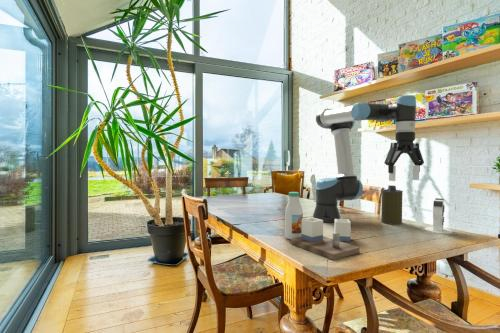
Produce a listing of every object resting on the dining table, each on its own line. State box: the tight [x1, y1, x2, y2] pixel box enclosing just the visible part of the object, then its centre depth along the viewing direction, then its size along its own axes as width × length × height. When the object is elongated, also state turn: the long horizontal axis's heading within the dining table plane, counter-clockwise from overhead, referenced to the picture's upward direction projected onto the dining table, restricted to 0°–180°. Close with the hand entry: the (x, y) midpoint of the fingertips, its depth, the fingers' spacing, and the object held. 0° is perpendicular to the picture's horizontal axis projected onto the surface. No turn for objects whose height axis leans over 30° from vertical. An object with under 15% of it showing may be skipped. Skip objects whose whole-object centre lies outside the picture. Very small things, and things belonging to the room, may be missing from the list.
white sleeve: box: [333, 218, 352, 242], centre depth 122 cm, size 6×6×8 cm
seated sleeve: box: [302, 217, 324, 242], centre depth 115 cm, size 6×6×8 cm
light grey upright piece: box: [423, 197, 453, 235], centre depth 136 cm, size 12×11×15 cm
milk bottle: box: [284, 191, 304, 240], centre depth 124 cm, size 8×8×20 cm
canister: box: [380, 185, 404, 226], centre depth 153 cm, size 11×10×20 cm
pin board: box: [290, 232, 361, 261], centre depth 110 cm, size 22×14×7 cm, turn 33°
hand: (404, 180), depth 124 cm, fingers open, 13 cm apart
